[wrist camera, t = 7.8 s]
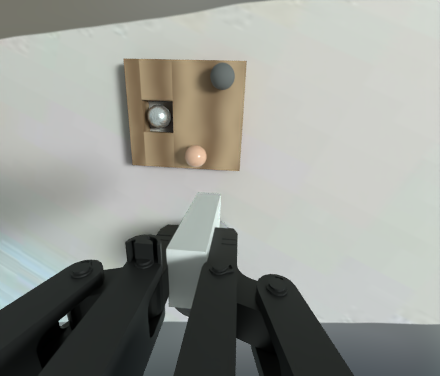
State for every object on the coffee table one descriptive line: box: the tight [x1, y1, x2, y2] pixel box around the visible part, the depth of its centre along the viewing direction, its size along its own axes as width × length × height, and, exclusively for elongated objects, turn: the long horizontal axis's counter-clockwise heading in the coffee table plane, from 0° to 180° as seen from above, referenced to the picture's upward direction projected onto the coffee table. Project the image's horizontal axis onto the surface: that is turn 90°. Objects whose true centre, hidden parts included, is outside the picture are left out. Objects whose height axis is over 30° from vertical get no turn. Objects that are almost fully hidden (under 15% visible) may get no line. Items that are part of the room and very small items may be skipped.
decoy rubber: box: [210, 62, 235, 90], centre depth 29 cm, size 3×3×3 cm
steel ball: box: [148, 105, 171, 128], centre depth 33 cm, size 3×3×3 cm
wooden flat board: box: [124, 59, 247, 171], centre depth 33 cm, size 17×15×2 cm
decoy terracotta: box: [185, 145, 207, 167], centre depth 32 cm, size 3×3×3 cm
